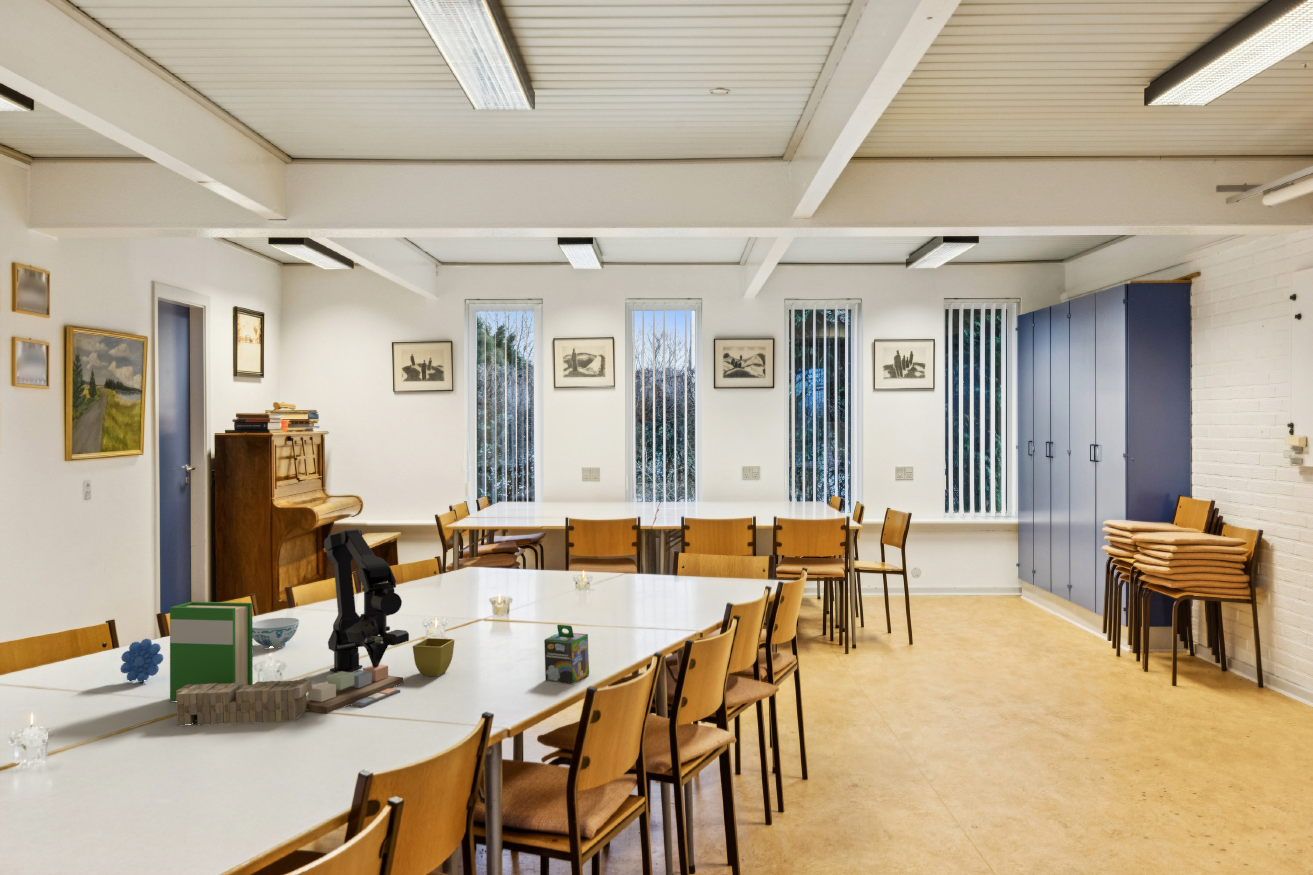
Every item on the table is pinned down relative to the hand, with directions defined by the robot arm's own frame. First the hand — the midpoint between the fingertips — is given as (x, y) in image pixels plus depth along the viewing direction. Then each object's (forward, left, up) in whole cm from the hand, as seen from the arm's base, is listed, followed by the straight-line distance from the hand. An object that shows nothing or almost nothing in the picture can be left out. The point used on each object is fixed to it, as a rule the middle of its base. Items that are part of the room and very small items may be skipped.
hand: (375, 666), depth 208 cm
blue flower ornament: (-63, -22, -5) cm, 67 cm away
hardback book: (-31, -25, -5) cm, 40 cm away
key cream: (0, -18, -3) cm, 18 cm away
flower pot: (+8, +14, -5) cm, 17 cm away
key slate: (0, -6, -3) cm, 7 cm away
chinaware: (-62, +19, -5) cm, 65 cm away
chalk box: (+45, +25, -5) cm, 52 cm away
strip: (+9, -9, -5) cm, 14 cm away
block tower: (-10, -32, -5) cm, 34 cm away
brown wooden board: (0, -9, -5) cm, 10 cm away
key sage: (0, -12, -2) cm, 12 cm away
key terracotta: (0, 0, -3) cm, 3 cm away
